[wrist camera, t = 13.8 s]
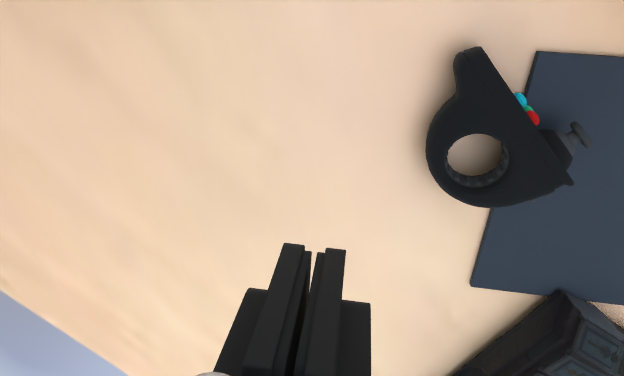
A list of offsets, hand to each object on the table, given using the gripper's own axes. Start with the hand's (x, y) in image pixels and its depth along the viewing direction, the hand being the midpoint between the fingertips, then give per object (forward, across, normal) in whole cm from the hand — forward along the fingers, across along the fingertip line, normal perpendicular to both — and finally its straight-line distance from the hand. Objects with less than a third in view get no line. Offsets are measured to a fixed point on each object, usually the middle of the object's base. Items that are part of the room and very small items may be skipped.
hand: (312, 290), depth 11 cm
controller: (+21, -7, +5) cm, 23 cm away
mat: (+23, -20, +6) cm, 31 cm away
